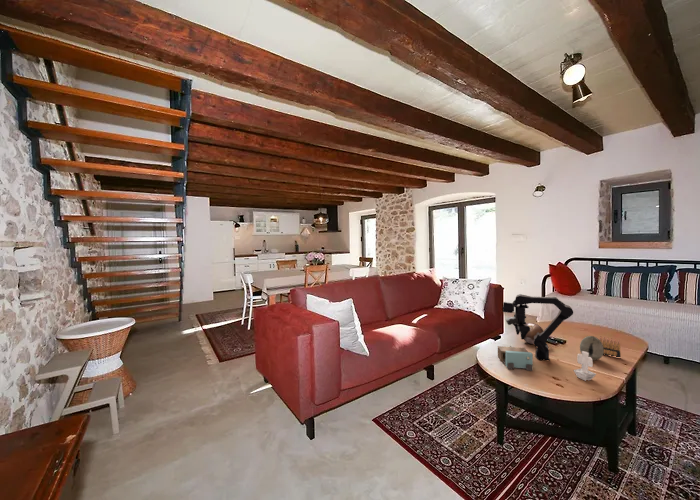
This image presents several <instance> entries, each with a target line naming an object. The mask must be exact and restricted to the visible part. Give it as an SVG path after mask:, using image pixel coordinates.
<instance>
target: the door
mask: <svg viewBox="0 0 700 500" xmlns="http://www.w3.org/2000/svg"><path fill="white" fill-rule="evenodd" d="M533 356H534V354H533V353H532V352H530V351H528V352H518V351H506V365H505V366H506V368H507V367H508V363H514V369H515V368H517V369H525V368H526V364H531V365H534V364H533V361H534V360H533V359H534V357H533Z"/></svg>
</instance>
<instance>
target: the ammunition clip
mask: <svg viewBox="0 0 700 500" xmlns="http://www.w3.org/2000/svg"><path fill="white" fill-rule="evenodd" d="M599 340H600V341H601V343H602V344H603V348H604V353H603V354H605V355H611V356H616V357H621V340H620V339H618V340H617V339H616V338H615V339H614V341H613V338H610V339H609V337H607V338H606V336H603V337H602V336H600V337H599ZM605 355H604V356H605Z"/></svg>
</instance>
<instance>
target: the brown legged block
mask: <svg viewBox="0 0 700 500" xmlns="http://www.w3.org/2000/svg"><path fill="white" fill-rule="evenodd" d="M506 351H518V352H529V351H528V350H527V348H525V347H519V346H517V347H514V346H501V345H498V346H497V359H498V360H499V361H500V362H501V363H504V365H505V366H506ZM533 365H534V364H533ZM533 365H531V364H526V368H524V369H525V370H526V371H527V372H533V369H534V367H533ZM506 369H507V370H512V371H513V370H514V369H515V367H514V363H508V367H506Z"/></svg>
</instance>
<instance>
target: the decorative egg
mask: <svg viewBox="0 0 700 500" xmlns="http://www.w3.org/2000/svg"><path fill="white" fill-rule="evenodd" d="M579 351H580V354H582V351H585V352H588V353H589V355H588V357H591V358H592V360H593V361H597V360H600V359H601V358H602V357H603V356H604V355H603V353H604V348H603V342H602V343H601V341H600V338H598V337H596V336H594V335H587V336H585V337H584V338H582V339H581V341H580V344H579Z"/></svg>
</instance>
